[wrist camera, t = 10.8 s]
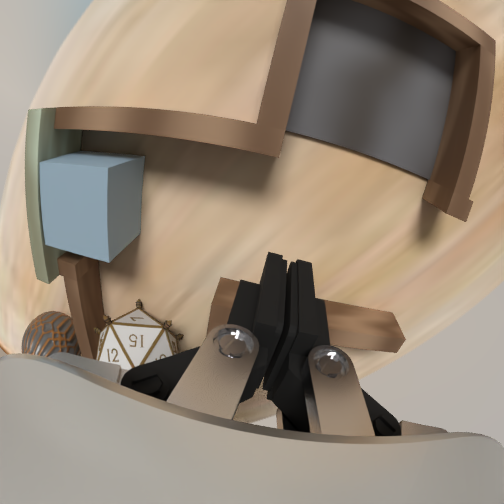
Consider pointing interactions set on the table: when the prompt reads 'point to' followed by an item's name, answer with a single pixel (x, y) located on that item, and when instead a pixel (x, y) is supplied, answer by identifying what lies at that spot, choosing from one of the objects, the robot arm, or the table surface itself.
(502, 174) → the table surface
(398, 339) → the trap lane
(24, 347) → the vase
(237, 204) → the table surface
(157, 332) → the game die
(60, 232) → the slate block
